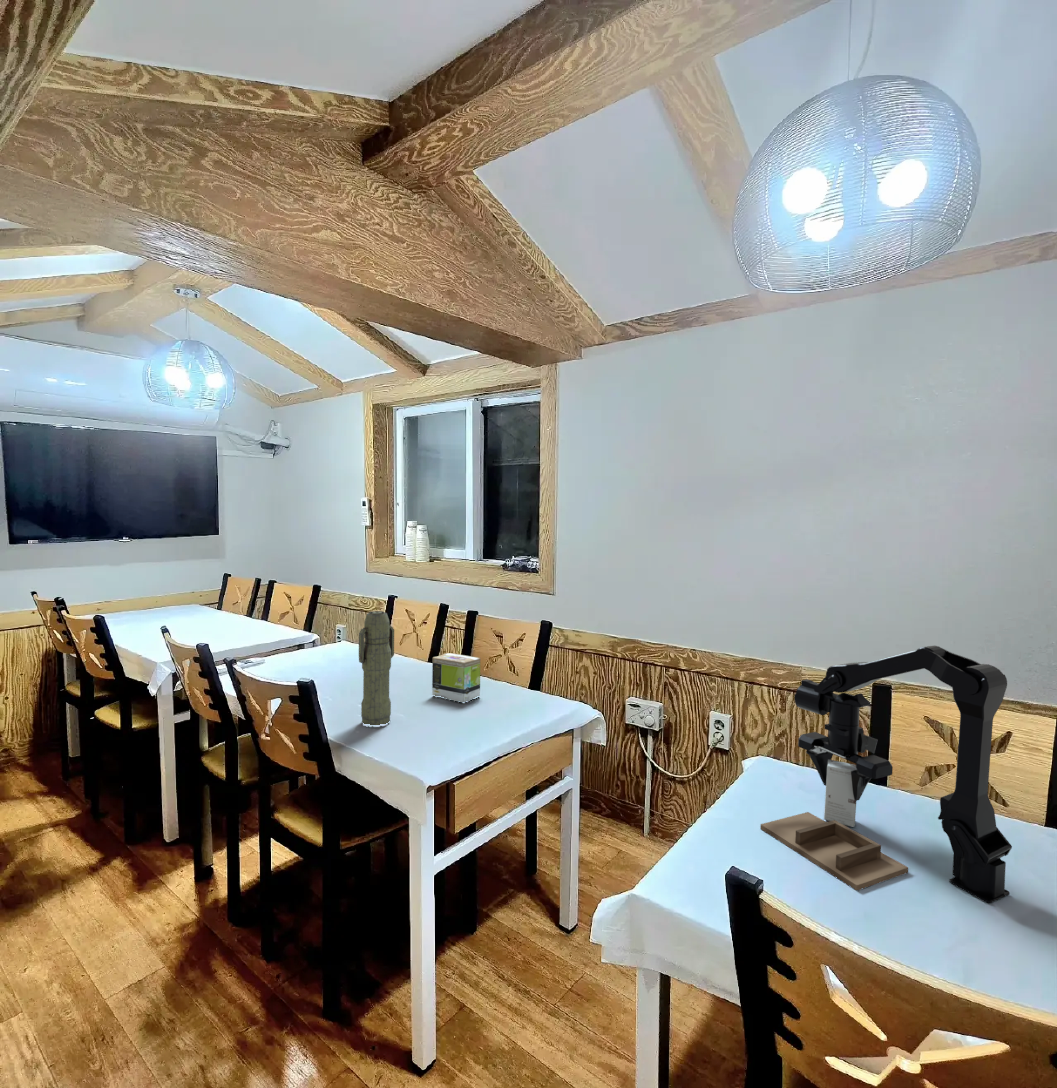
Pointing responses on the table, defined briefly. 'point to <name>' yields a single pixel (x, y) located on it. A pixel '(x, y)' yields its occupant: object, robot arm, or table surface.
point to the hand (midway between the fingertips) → (841, 792)
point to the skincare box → (840, 793)
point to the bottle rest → (836, 849)
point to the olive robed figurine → (376, 667)
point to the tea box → (456, 677)
